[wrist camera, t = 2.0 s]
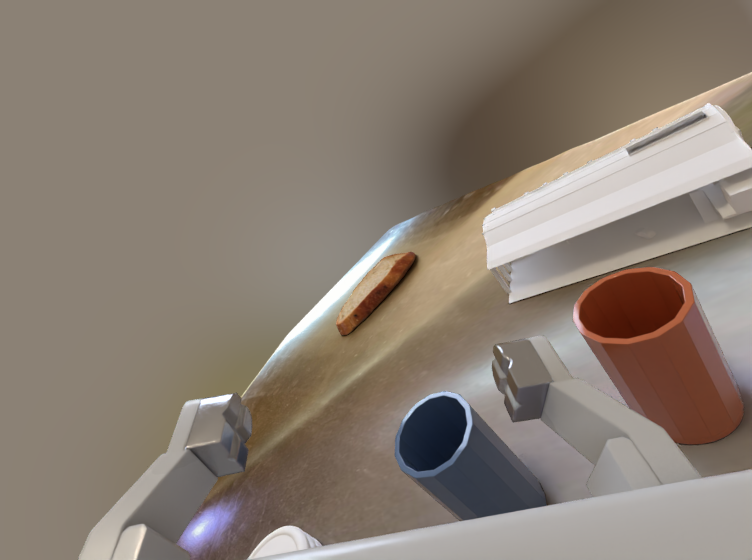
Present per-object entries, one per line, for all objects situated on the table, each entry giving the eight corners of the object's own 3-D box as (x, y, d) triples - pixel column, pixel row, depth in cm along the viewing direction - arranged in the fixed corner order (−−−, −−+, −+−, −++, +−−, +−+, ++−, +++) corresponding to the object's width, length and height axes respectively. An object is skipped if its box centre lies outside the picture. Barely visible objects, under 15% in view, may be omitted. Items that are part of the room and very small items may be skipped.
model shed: (503, 305, 45) (473, 265, 42) (508, 240, 55) (484, 204, 53) (790, 215, 29) (769, 143, 27) (722, 148, 40) (703, 92, 37)
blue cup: (529, 571, 23) (442, 494, 20) (458, 525, 28) (379, 458, 25) (559, 482, 26) (488, 400, 23) (489, 455, 31) (422, 385, 28)
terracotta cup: (740, 458, 21) (684, 347, 17) (621, 430, 26) (559, 340, 22) (750, 372, 24) (702, 261, 20) (640, 362, 29) (587, 272, 25)
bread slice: (336, 341, 69) (322, 328, 67) (354, 288, 84) (344, 276, 82) (413, 299, 61) (400, 284, 60) (418, 249, 76) (408, 235, 74)
